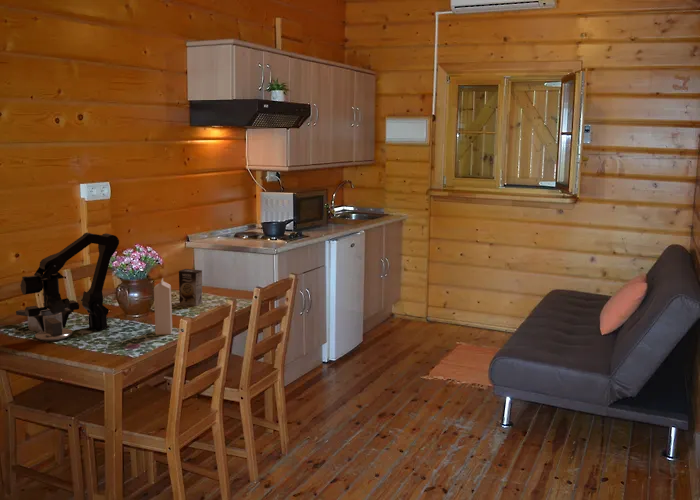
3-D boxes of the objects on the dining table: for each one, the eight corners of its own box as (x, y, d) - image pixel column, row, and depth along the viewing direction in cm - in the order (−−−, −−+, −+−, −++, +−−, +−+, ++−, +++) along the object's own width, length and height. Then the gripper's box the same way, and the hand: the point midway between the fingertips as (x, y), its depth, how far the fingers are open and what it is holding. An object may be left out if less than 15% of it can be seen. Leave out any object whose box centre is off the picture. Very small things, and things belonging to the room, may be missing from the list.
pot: (70, 324, 282) (69, 310, 281) (47, 332, 270) (46, 318, 269) (31, 319, 288) (30, 305, 287) (6, 327, 276) (5, 313, 275)
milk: (172, 330, 276) (171, 277, 272) (170, 334, 270) (169, 280, 266) (156, 330, 275) (155, 277, 271) (155, 334, 269) (153, 280, 265)
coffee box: (178, 304, 316) (177, 270, 314) (186, 301, 322) (185, 268, 320) (196, 306, 314) (195, 272, 311) (203, 303, 320) (202, 269, 317)
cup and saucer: (77, 338, 264) (76, 321, 262) (41, 344, 255) (40, 327, 254) (65, 330, 273) (64, 314, 272) (31, 336, 265) (29, 319, 264)
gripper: (31, 298, 249) (34, 338, 252) (83, 291, 261) (85, 329, 264) (23, 292, 257) (25, 332, 260) (73, 286, 269) (75, 323, 272)
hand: (53, 329), depth 264 cm, fingers open, 7 cm apart
